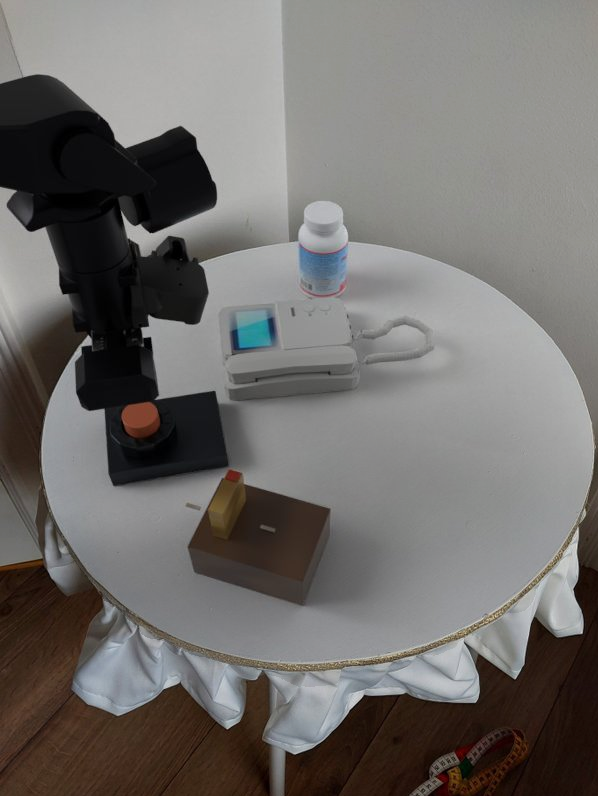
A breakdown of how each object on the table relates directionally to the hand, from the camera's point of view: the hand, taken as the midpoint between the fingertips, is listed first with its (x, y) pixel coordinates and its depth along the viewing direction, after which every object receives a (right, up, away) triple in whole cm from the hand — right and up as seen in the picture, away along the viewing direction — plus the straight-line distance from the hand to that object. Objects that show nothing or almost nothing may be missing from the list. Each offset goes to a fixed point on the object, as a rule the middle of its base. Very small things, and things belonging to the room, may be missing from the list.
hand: (130, 383), depth 70 cm
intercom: (+19, +5, +18) cm, 26 cm away
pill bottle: (+18, +15, +25) cm, 34 cm away
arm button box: (+2, -6, +8) cm, 10 cm away
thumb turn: (+10, -13, -3) cm, 16 cm away
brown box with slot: (+13, -16, +1) cm, 21 cm away
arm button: (0, -4, +5) cm, 6 cm away
